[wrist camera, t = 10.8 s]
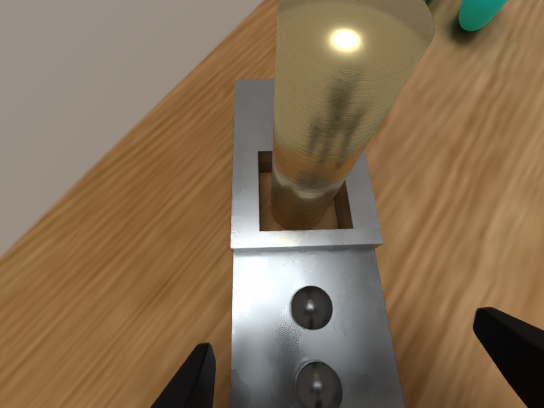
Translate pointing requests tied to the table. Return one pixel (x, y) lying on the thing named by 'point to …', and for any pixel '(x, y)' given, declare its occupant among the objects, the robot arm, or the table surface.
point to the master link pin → (335, 92)
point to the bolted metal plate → (304, 288)
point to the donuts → (478, 13)
